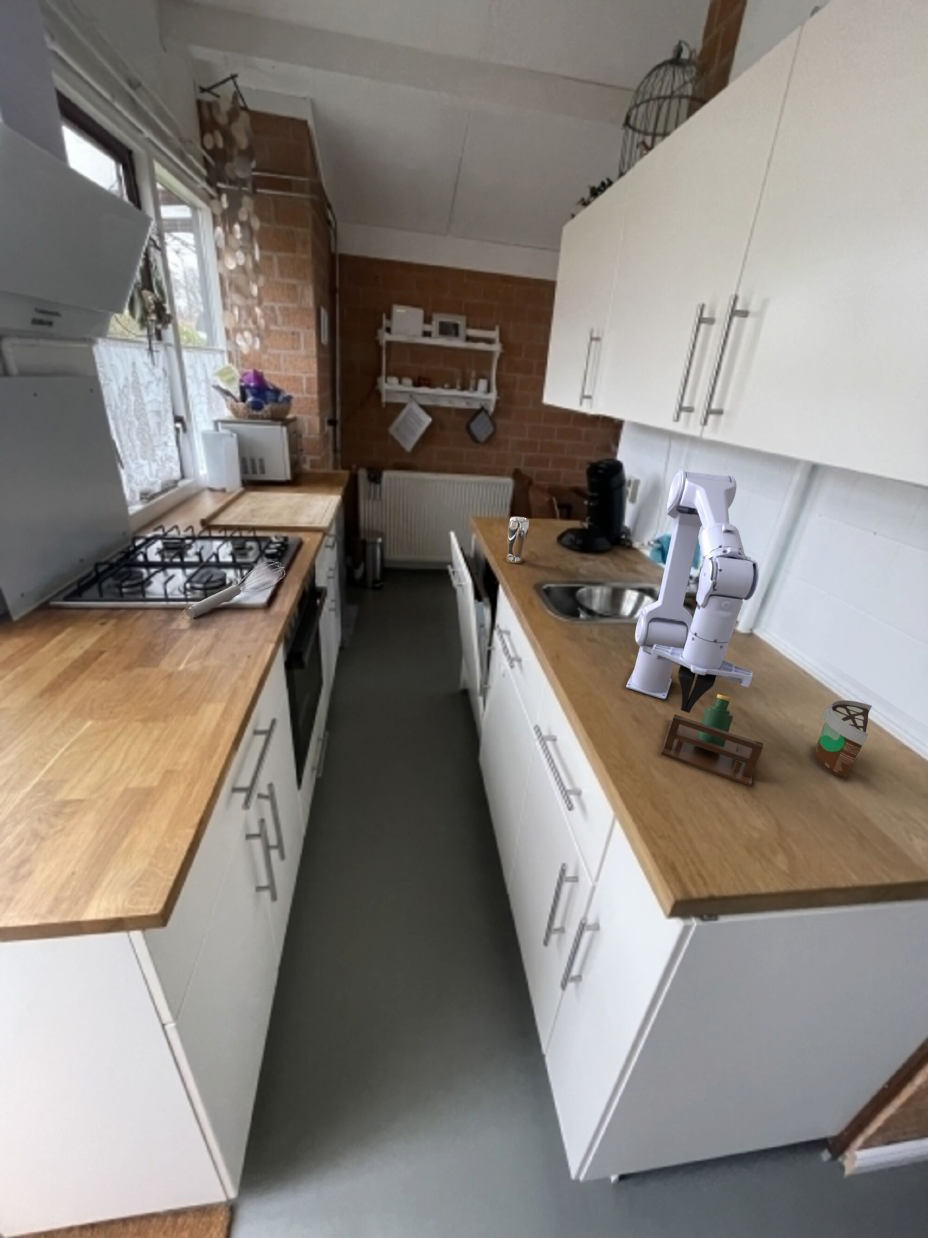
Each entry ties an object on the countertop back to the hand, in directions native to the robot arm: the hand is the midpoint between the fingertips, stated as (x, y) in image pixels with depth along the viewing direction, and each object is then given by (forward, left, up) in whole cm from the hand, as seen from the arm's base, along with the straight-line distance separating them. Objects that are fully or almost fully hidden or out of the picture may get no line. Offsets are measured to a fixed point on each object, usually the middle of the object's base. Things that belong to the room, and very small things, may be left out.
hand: (685, 708), depth 83 cm
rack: (-5, +5, -10) cm, 12 cm away
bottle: (-5, +5, -8) cm, 11 cm away
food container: (-16, +24, -10) cm, 31 cm away
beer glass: (-82, -64, -10) cm, 105 cm away
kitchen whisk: (-2, -107, -10) cm, 107 cm away
